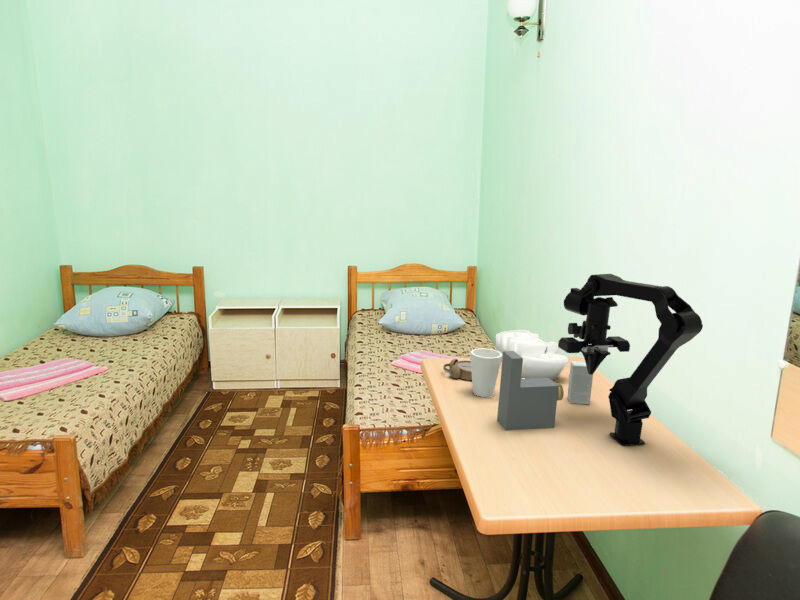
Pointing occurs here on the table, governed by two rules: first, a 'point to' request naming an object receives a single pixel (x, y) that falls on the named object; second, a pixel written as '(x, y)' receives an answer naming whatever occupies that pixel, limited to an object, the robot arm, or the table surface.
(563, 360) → the wavy white extrusion
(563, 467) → the table surface
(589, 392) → the skincare box
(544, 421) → the block
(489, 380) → the foam cup
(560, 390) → the shaft
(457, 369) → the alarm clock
